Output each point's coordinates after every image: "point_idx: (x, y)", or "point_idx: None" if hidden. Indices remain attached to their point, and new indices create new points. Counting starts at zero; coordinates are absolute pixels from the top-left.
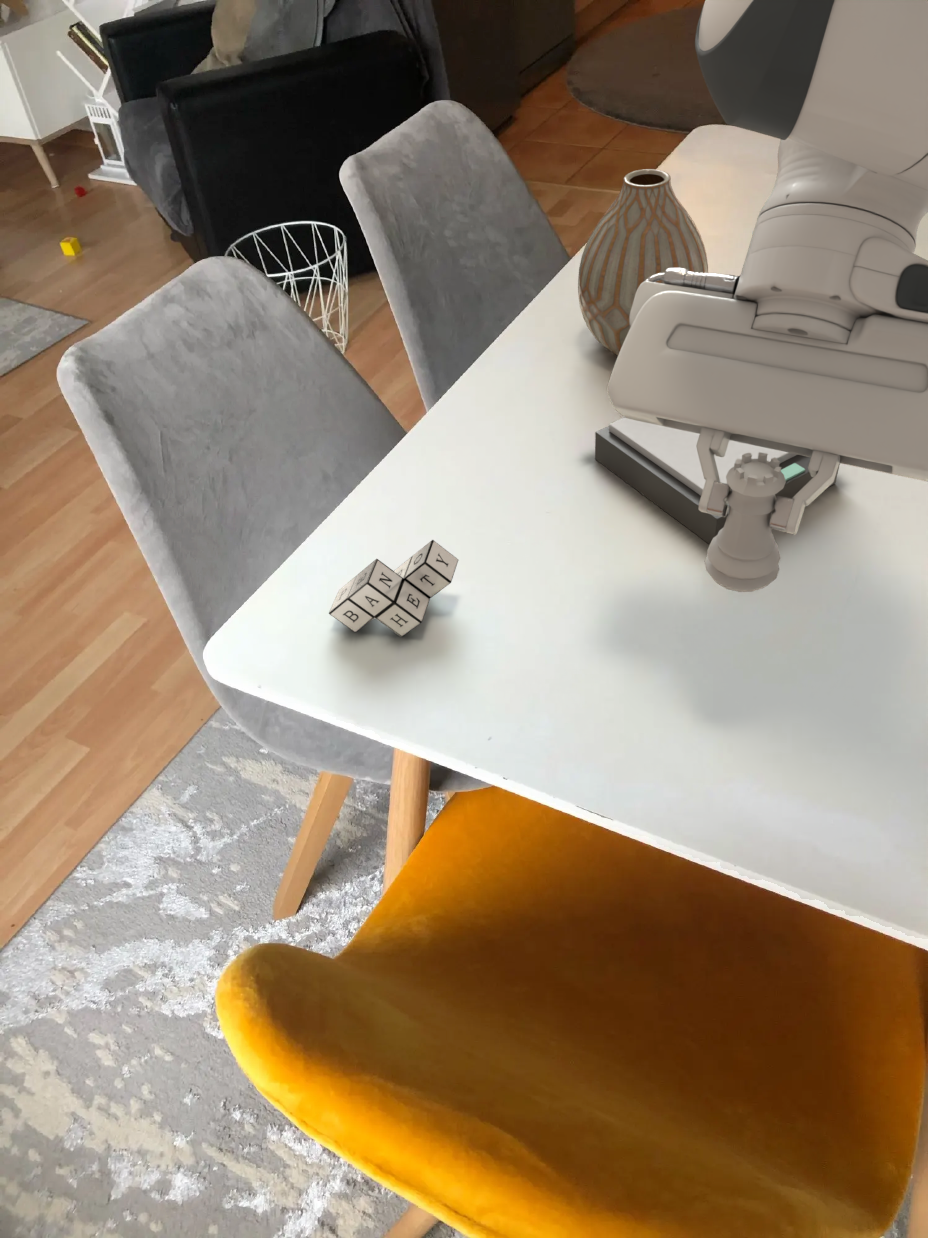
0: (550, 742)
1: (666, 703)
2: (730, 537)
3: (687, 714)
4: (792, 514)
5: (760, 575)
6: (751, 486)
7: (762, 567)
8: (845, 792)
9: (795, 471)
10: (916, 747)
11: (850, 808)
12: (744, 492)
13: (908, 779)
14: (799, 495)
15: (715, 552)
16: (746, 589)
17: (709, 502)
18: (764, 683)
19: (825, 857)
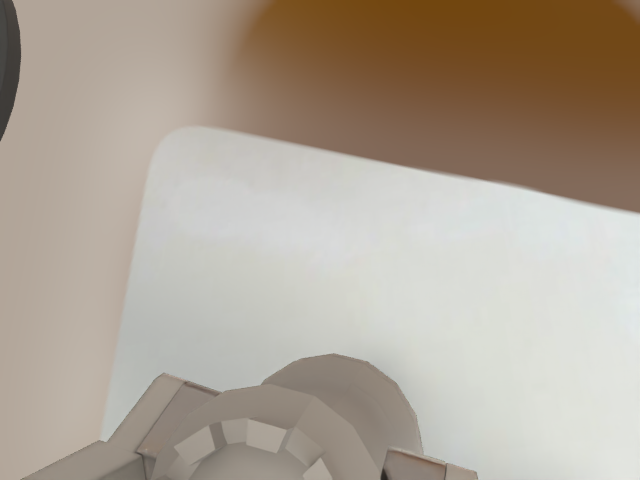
0: (613, 286)
1: (447, 390)
2: (359, 415)
3: (414, 372)
4: (157, 406)
5: (283, 368)
6: (276, 414)
7: (276, 377)
8: (209, 269)
9: None
10: (117, 356)
11: (206, 247)
12: (306, 401)
13: (135, 302)
14: (113, 462)
15: (398, 421)
16: (318, 356)
17: (439, 474)
18: None
19: (240, 175)
